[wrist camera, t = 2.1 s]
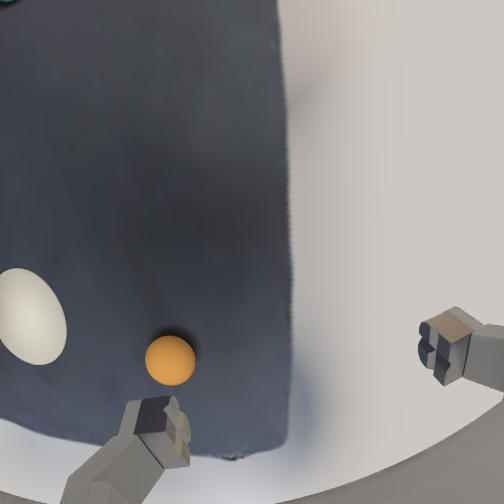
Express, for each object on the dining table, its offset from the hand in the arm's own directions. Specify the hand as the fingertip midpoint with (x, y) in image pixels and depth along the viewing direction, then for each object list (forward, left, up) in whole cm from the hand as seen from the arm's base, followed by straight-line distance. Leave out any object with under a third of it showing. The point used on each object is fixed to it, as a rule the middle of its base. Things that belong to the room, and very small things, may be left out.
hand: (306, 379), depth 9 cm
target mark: (-26, +9, -25) cm, 37 cm away
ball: (-12, -5, -22) cm, 26 cm away
